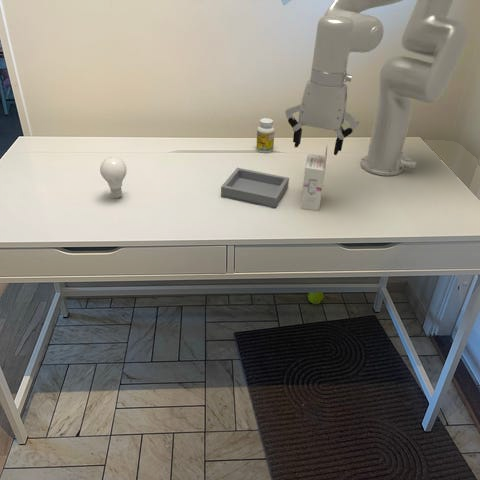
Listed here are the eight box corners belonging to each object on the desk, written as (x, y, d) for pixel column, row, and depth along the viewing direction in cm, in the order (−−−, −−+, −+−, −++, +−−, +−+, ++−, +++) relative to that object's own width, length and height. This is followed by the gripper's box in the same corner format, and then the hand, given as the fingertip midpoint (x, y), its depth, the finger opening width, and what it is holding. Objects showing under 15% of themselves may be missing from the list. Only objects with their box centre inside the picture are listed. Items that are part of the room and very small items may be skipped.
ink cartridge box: (302, 192, 128) (309, 141, 119) (321, 195, 127) (329, 144, 118) (299, 208, 121) (306, 155, 112) (319, 211, 120) (327, 158, 111)
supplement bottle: (276, 150, 149) (279, 120, 144) (265, 154, 146) (267, 125, 141) (263, 144, 152) (265, 116, 147) (252, 149, 149) (254, 120, 144)
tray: (288, 187, 130) (289, 177, 128) (275, 208, 120) (276, 198, 118) (236, 177, 133) (237, 167, 132) (220, 196, 124) (221, 186, 122)
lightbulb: (134, 194, 124) (130, 155, 117) (121, 205, 119) (116, 165, 113) (112, 189, 125) (107, 151, 119) (99, 200, 120) (93, 161, 114)
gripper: (368, 79, 106) (354, 150, 115) (294, 68, 110) (286, 137, 120) (364, 87, 100) (349, 162, 110) (285, 75, 104) (278, 148, 114)
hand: (316, 149), depth 115 cm, fingers open, 9 cm apart
